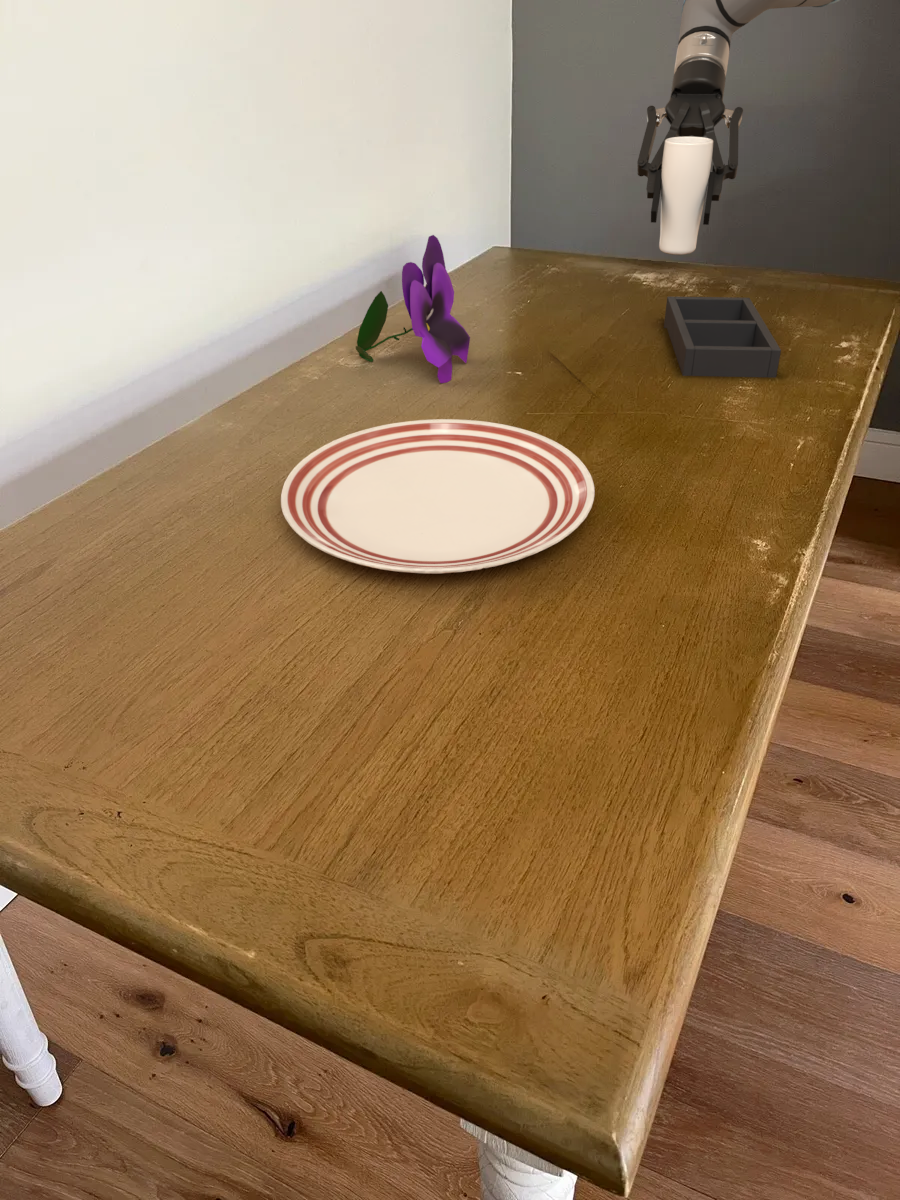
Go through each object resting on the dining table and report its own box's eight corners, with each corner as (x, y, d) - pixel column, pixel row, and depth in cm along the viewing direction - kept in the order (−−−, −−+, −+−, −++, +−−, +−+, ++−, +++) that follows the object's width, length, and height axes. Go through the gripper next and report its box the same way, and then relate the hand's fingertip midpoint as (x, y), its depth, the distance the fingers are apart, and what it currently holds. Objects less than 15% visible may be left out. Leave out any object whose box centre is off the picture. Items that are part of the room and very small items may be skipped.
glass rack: (743, 332, 126) (749, 297, 124) (773, 389, 110) (781, 350, 107) (663, 331, 127) (667, 296, 124) (681, 387, 110) (686, 348, 108)
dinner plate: (544, 627, 71) (546, 589, 69) (224, 563, 79) (218, 528, 77) (621, 471, 92) (624, 439, 91) (363, 433, 100) (361, 403, 99)
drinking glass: (649, 255, 140) (659, 142, 132) (658, 244, 145) (669, 135, 137) (696, 258, 138) (709, 144, 129) (704, 247, 143) (717, 137, 135)
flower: (362, 425, 115) (456, 385, 108) (299, 309, 109) (393, 260, 102) (406, 382, 126) (493, 344, 119) (350, 276, 121) (438, 229, 114)
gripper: (631, 56, 138) (609, 199, 134) (772, 57, 134) (754, 204, 130) (632, 93, 145) (611, 230, 141) (766, 95, 141) (748, 236, 137)
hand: (679, 217), depth 135 cm, fingers closed on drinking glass, 7 cm apart
